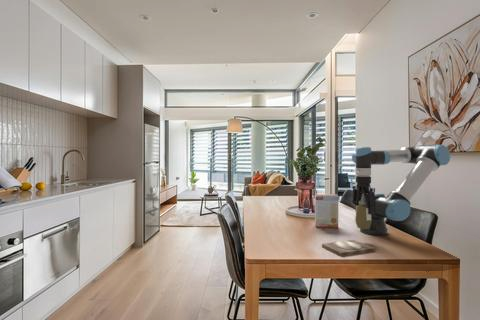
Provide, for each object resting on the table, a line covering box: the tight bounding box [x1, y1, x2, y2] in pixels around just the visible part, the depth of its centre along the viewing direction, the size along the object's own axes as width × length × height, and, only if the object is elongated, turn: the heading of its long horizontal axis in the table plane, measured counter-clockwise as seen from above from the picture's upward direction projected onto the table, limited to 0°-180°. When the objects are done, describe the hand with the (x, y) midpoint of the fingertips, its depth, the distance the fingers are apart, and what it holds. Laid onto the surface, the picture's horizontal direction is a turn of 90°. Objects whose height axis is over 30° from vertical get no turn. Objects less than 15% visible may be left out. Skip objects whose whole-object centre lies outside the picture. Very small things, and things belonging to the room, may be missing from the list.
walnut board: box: [321, 239, 376, 257], centre depth 138 cm, size 20×14×2 cm
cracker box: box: [314, 193, 339, 229], centre depth 181 cm, size 14×6×21 cm, turn 84°
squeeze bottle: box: [354, 194, 372, 229], centre depth 151 cm, size 8×8×18 cm
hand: (363, 218), depth 151 cm, fingers closed on squeeze bottle, 6 cm apart
